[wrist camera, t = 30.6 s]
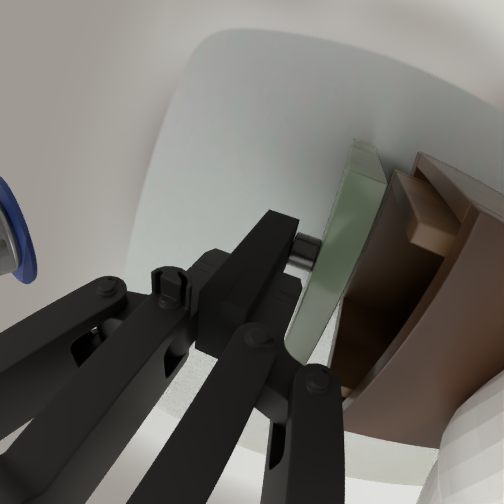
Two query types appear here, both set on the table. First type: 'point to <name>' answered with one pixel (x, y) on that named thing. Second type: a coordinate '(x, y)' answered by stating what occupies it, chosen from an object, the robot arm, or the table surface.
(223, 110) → the table surface
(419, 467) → the table surface
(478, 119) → the table surface
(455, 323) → the cabinet
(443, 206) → the drawer
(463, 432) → the cat figurine
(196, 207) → the table surface
